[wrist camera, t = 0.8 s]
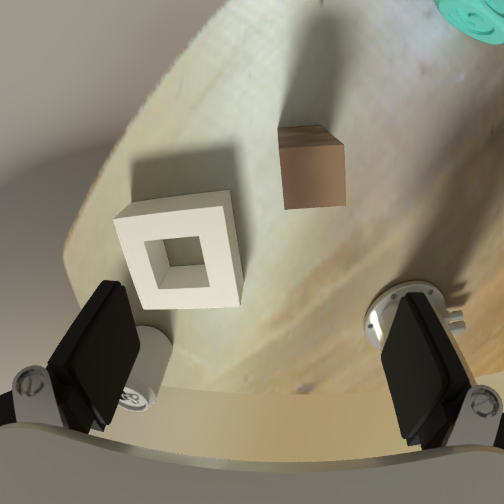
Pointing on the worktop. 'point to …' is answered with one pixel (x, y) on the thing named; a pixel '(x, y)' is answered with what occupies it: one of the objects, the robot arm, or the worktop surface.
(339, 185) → the peg
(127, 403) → the can
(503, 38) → the decorative dice
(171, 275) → the socket block
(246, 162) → the worktop surface
